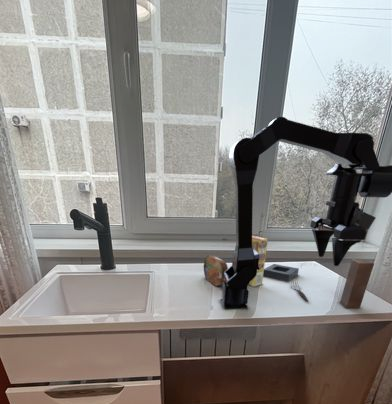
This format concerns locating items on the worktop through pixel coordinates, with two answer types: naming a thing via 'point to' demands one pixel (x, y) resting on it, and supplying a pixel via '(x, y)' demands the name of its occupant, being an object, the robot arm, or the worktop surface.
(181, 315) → the worktop surface
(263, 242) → the candy box
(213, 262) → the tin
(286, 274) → the base pad
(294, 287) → the fork
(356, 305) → the walnut post
